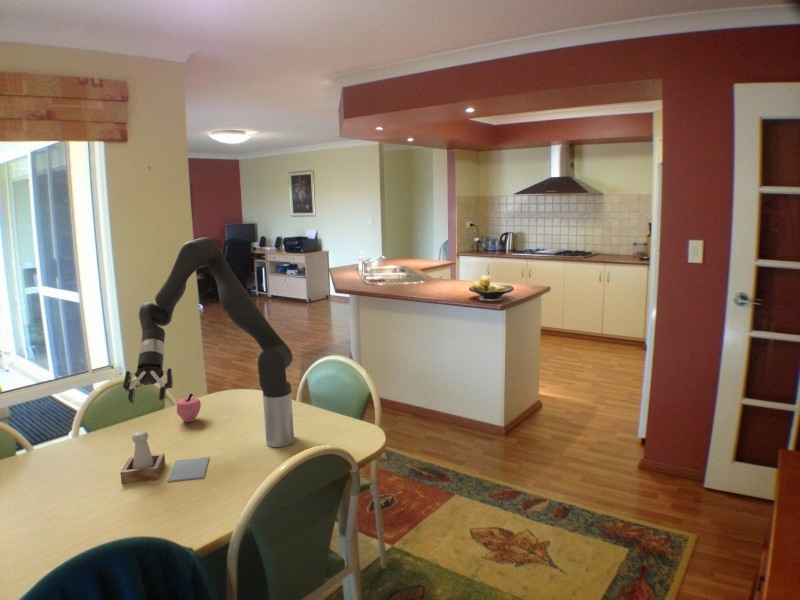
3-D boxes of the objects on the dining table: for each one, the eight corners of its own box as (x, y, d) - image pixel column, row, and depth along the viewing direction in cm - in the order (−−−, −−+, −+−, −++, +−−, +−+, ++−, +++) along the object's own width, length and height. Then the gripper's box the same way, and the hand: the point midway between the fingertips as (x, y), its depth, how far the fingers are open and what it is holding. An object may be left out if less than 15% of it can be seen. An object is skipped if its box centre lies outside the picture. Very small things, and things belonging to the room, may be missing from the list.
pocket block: (165, 463, 170) (164, 453, 169) (158, 479, 160) (157, 468, 159) (130, 467, 168) (129, 456, 167) (121, 483, 158) (120, 472, 157)
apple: (178, 417, 206) (175, 392, 204) (202, 414, 208) (200, 389, 207) (176, 427, 197) (173, 401, 195) (201, 424, 199) (199, 398, 198)
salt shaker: (146, 478, 160) (141, 437, 158) (129, 477, 162) (124, 436, 159) (158, 469, 166) (154, 429, 164) (142, 467, 167) (137, 428, 165)
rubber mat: (209, 458, 173) (209, 456, 173) (203, 478, 160) (203, 476, 160) (175, 461, 171) (175, 460, 171) (167, 482, 158) (167, 481, 158)
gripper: (125, 351, 176) (118, 397, 167) (172, 348, 179) (168, 394, 170) (131, 362, 182) (125, 407, 173) (176, 359, 185) (172, 404, 176)
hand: (146, 400), depth 172 cm, fingers open, 8 cm apart
